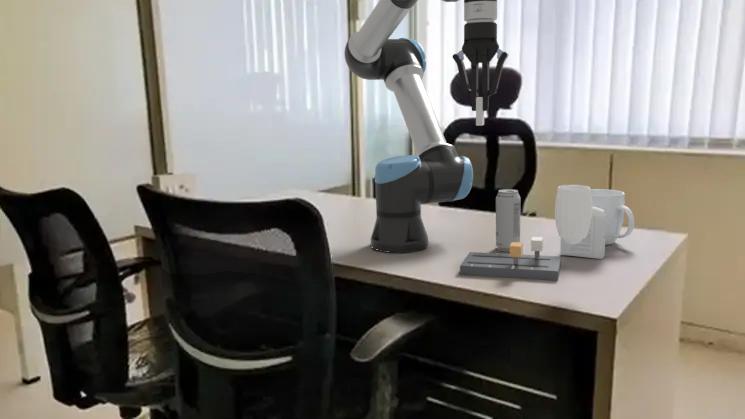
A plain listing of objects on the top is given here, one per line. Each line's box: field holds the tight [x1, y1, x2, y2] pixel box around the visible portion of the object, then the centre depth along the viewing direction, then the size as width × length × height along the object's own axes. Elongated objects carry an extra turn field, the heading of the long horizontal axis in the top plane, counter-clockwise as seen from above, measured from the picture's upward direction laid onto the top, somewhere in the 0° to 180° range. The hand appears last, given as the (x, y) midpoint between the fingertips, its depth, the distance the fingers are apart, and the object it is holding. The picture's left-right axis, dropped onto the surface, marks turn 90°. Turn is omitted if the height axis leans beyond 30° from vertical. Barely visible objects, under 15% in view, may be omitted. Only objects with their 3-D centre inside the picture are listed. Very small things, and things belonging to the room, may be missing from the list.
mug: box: [591, 188, 635, 246], centre depth 166 cm, size 15×11×13 cm
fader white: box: [530, 236, 544, 258], centre depth 147 cm, size 2×4×4 cm, turn 162°
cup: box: [554, 184, 592, 245], centre depth 132 cm, size 7×7×21 cm
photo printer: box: [559, 206, 606, 260], centre depth 155 cm, size 10×4×12 cm, turn 61°
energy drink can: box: [495, 188, 521, 253], centre depth 164 cm, size 6×6×15 cm
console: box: [459, 251, 562, 281], centre depth 147 cm, size 21×12×2 cm, turn 71°
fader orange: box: [509, 241, 524, 264], centre depth 143 cm, size 2×4×4 cm, turn 161°
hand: (480, 125), depth 155 cm, fingers closed
